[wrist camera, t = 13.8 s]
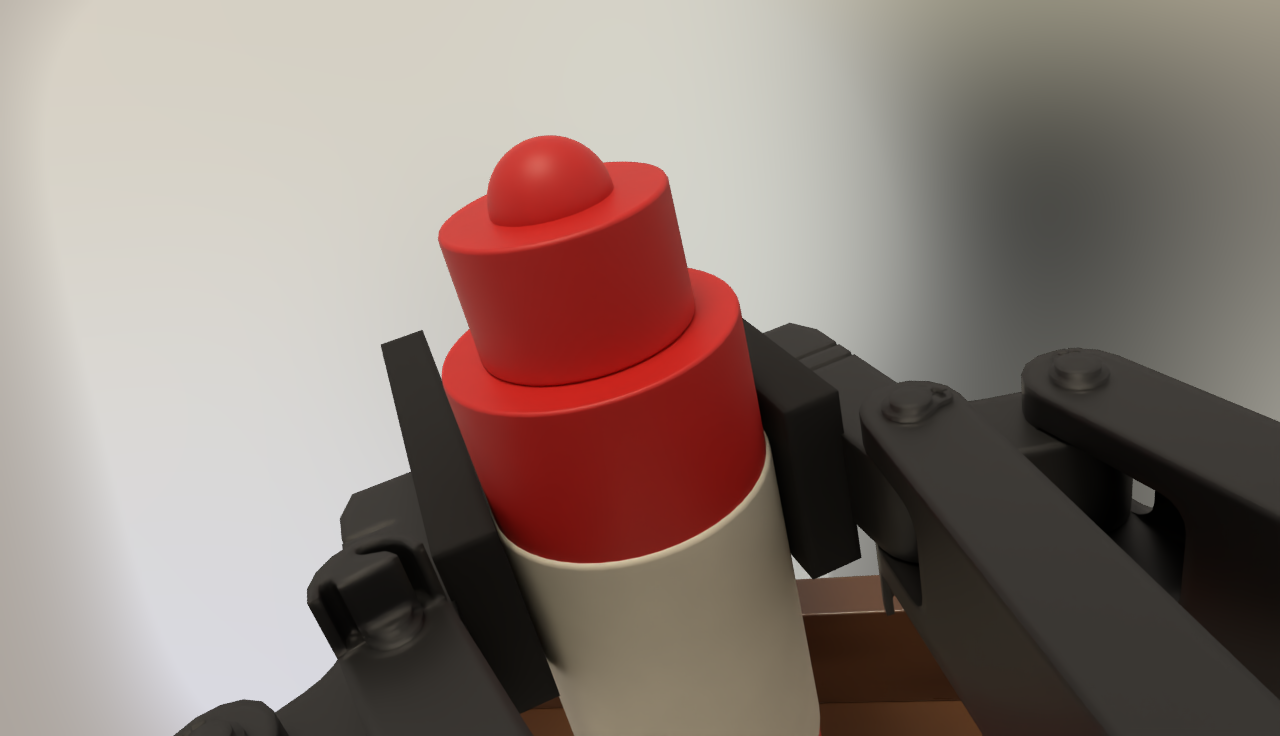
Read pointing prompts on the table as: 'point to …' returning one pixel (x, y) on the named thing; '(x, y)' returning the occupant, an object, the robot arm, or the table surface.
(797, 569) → the table surface
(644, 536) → the red cream bottle
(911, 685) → the shelf
